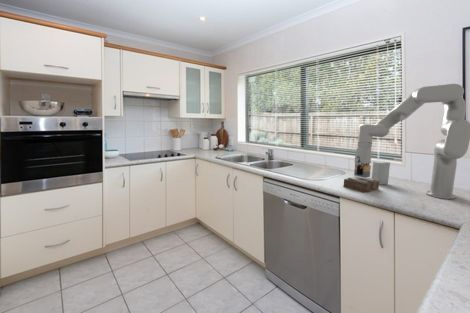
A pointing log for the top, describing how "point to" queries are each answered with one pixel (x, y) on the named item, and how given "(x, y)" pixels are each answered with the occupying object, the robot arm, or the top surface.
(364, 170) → the block
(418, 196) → the top surface
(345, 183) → the walnut stand
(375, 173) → the skincare box
